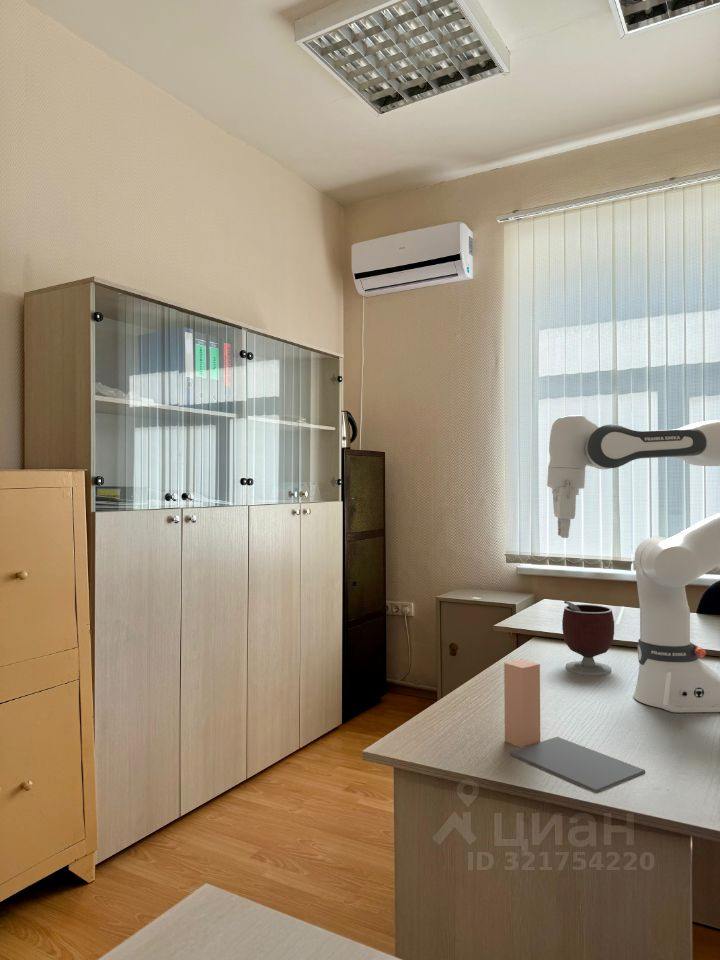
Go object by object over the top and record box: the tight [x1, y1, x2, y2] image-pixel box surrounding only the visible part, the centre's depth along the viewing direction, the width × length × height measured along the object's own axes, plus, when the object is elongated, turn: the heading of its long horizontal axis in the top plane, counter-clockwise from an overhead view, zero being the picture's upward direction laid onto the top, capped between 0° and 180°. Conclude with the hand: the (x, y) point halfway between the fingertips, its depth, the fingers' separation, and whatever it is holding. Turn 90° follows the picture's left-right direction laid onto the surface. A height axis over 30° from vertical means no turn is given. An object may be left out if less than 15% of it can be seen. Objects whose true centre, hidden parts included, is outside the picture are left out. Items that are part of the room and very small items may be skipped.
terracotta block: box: [503, 658, 541, 749], centre depth 141 cm, size 5×5×16 cm
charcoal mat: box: [508, 736, 646, 793], centre depth 130 cm, size 20×14×1 cm
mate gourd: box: [561, 600, 615, 676], centre depth 194 cm, size 16×14×20 cm
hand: (562, 536), depth 170 cm, fingers open, 8 cm apart
